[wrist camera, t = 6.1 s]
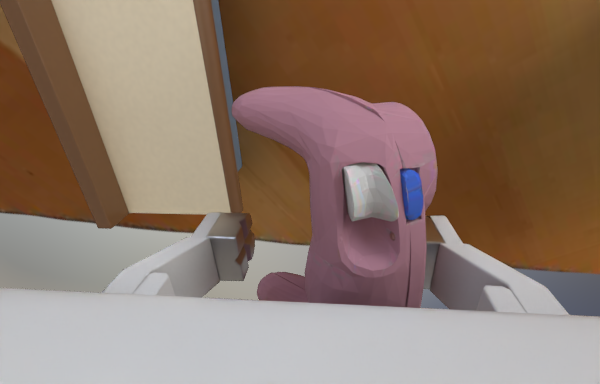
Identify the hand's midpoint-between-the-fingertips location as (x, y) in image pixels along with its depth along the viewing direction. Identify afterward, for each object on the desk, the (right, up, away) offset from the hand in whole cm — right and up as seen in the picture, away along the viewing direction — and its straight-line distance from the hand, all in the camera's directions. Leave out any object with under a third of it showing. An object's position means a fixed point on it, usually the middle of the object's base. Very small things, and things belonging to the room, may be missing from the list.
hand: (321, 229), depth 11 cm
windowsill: (-11, +12, +19) cm, 25 cm away
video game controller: (0, +1, +2) cm, 2 cm away
